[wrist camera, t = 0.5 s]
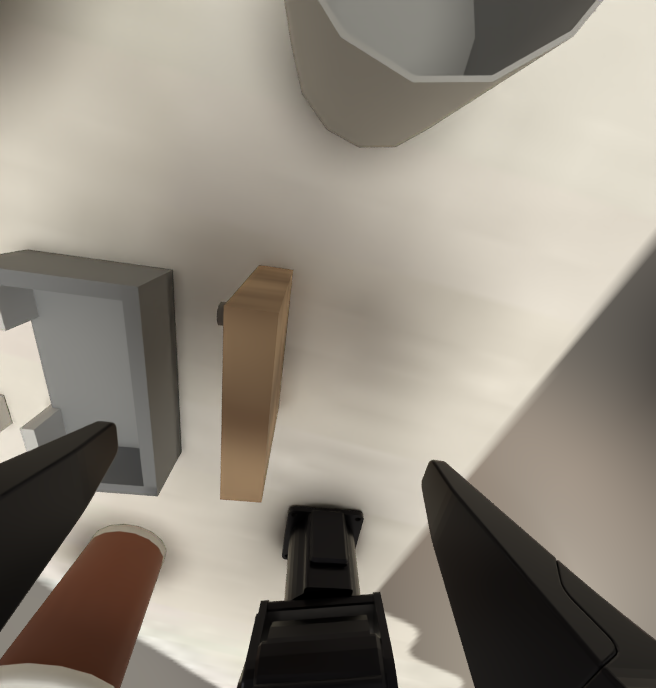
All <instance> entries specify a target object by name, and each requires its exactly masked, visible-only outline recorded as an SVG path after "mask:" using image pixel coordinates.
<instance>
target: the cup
mask: <svg viewBox="0 0 656 688" xmlns="http://www.w3.org/2000/svg"><path fill="white" fill-rule="evenodd" d="M602 1H603V0H284V2H285V9H286V15H287V21H288V27H289V34H290V40H291V46H292V50H293V55H294V59H295V64H296V68H297V73H298V77H299V82H300V86H301V90H302V94H303V96H304V97H305V98H306V100H307V101H308V103H309V104H310V106H311V107H312V109H313V110H314V112H315V113H316V114H317V116H318V117H319V119H320V120H321V122H322V123H323V125H324V126H325V128H326V129H327V130H329V131H331V132H333V133H334V134H336V135H338V136H340V137H341V138H343V139H345V140H347V141H349V142H350V143H352V144H354V145H356V146H358V147H359V148H365V147H397V146H398V145H400V144H402V143H404V142H406V141H407V140H409V139H411V138H413V137H414V136H416V135H418V134H420V133H422V132H423V131H425V130H427V129H429V128H430V127H432V126H434V125H435V124H437V123H438V122H440V121H441V120H443V119H445V118H446V117H448V116H449V115H451V114H452V113H454V112H456V111H457V110H459V109H460V108H462V107H463V106H465V105H467V104H468V103H470V102H471V101H473V100H474V99H476V98H477V97H479V96H481V95H482V94H484V93H485V92H487V91H488V90H490V89H492V88H493V87H495V86H496V85H498V84H499V83H501V82H503V81H504V80H506V79H507V78H509V77H510V76H512V75H514V74H515V73H517V72H518V71H520V70H521V69H523V68H525V67H526V66H528V65H529V64H531V63H532V62H534V61H535V60H537V59H539V58H540V57H542V56H543V55H545V54H546V53H548V52H550V51H551V50H553V49H554V48H556V47H557V46H559V45H561V44H562V43H564V42H565V41H567V40H568V39H570V38H572V37H573V36H574V35H575V34H576V33H577V31H578V30H579V29H580V28H581V27H582V25H583V24H584V23H585V22H586V21H587V19H588V18H589V17H590V16H591V14H592V13H593V12H594V11H595V10H596V8H597V7H598V6H599V5H600V4H601V2H602Z"/></svg>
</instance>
